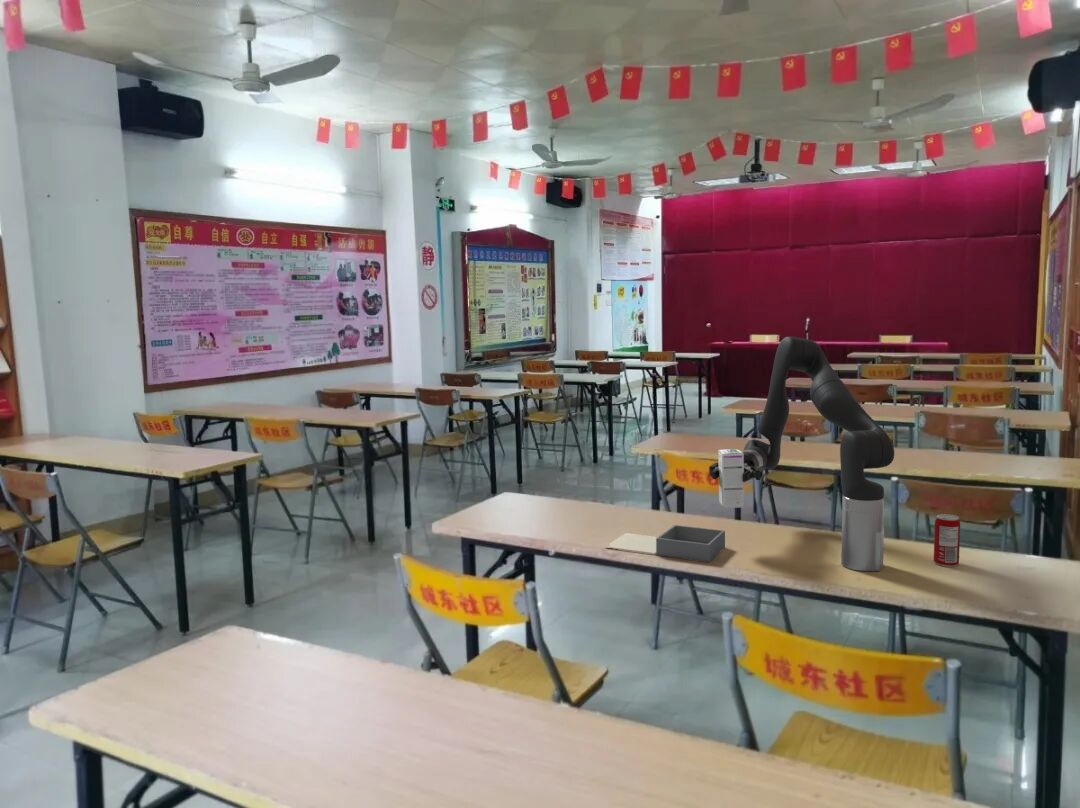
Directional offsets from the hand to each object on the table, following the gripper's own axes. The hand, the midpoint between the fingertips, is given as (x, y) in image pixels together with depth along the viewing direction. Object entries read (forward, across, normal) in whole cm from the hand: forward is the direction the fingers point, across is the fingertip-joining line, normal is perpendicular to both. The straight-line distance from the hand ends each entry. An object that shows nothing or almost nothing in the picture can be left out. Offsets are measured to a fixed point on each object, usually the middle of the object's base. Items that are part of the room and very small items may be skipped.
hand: (728, 476), depth 204 cm
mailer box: (+5, -16, +20) cm, 26 cm away
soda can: (-12, +50, +20) cm, 55 cm away
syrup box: (-2, 0, +8) cm, 8 cm away
